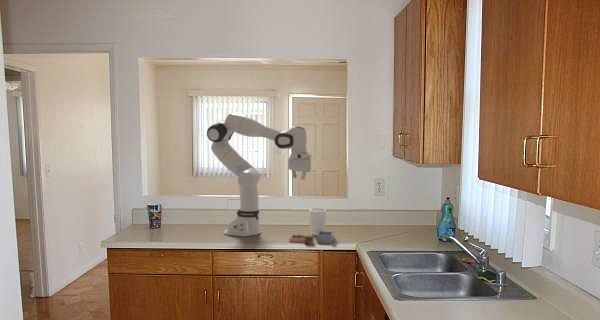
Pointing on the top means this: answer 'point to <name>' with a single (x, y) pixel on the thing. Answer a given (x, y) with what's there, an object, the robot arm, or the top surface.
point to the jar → (317, 220)
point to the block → (309, 239)
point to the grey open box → (325, 237)
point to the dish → (294, 239)
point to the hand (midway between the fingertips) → (298, 178)
